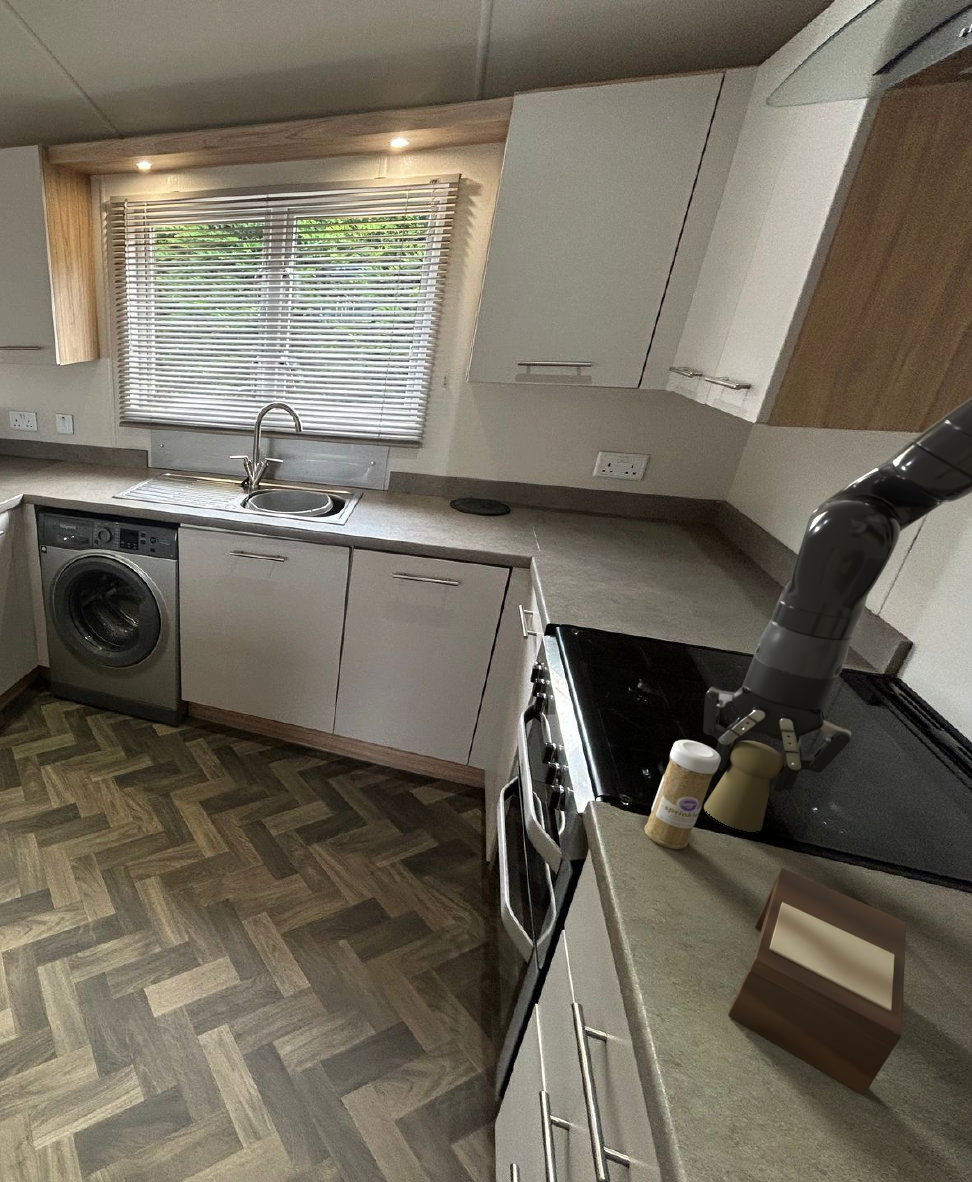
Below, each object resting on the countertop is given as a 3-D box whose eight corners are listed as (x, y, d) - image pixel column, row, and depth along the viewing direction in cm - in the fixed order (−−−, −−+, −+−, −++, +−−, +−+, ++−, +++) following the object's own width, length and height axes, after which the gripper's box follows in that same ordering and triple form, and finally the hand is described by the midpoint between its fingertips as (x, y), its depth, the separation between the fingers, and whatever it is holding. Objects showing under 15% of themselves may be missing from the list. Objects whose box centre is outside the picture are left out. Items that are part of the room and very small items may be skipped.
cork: (700, 795, 88) (726, 728, 84) (756, 811, 85) (786, 743, 81) (707, 821, 83) (735, 752, 79) (766, 839, 80) (798, 768, 76)
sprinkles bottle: (659, 850, 78) (692, 760, 73) (635, 824, 82) (665, 737, 78) (696, 851, 78) (732, 761, 73) (670, 825, 82) (702, 738, 78)
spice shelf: (756, 920, 69) (782, 865, 66) (874, 977, 63) (907, 920, 60) (727, 1016, 59) (755, 957, 56) (863, 1096, 53) (903, 1034, 50)
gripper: (883, 673, 73) (826, 792, 79) (727, 633, 83) (687, 741, 89) (880, 695, 68) (820, 820, 75) (714, 649, 78) (674, 763, 84)
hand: (748, 776), depth 82 cm, fingers closed on cork, 5 cm apart
